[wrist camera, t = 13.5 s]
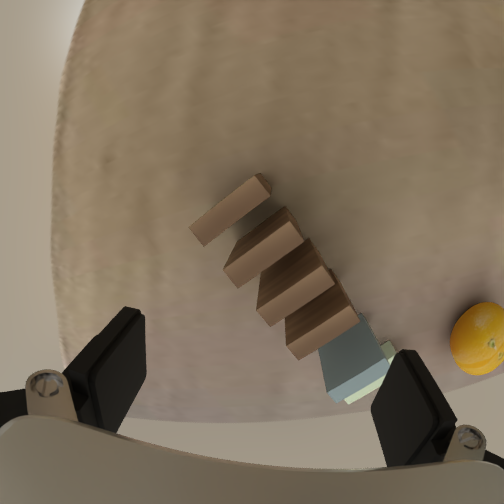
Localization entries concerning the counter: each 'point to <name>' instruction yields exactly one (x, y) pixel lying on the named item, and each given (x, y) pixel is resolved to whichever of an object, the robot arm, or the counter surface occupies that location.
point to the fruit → (479, 339)
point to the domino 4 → (320, 320)
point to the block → (389, 354)
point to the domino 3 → (292, 283)
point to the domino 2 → (263, 247)
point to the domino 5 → (352, 361)
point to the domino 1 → (231, 209)
